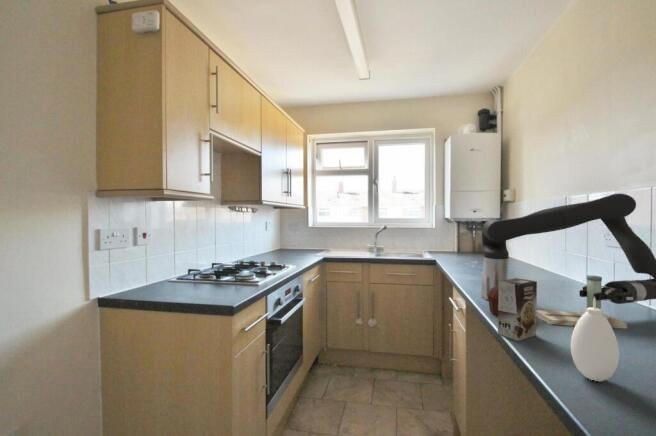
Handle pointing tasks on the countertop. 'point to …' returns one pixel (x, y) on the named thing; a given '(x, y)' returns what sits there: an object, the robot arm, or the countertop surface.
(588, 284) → the green cylindrical container
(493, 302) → the muffin
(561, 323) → the beige flat wavy piece
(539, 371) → the countertop surface
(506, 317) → the coffee box
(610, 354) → the sauce bottle
